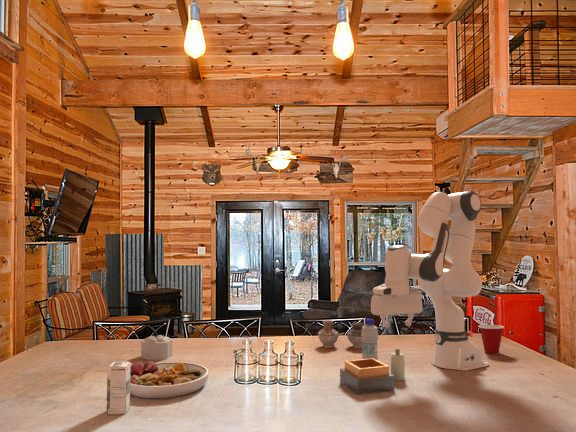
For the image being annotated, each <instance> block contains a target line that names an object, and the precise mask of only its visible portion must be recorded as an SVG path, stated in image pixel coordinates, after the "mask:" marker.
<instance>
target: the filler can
mask: <svg viewBox="0 0 576 432" xmlns="http://www.w3.org/2000/svg"><path fill="white" fill-rule="evenodd" d="M394 351H395V352H392V353H390V374H392V375H394V382H395V381H396V382H402V381H405V380H406V379H405V377H406V376H405V372H406V371H405V367H406V366H405V360H406V358H405V354H404V353H402V352H401V349H400V348H398V347H397V348H395V350H394Z"/></svg>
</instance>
